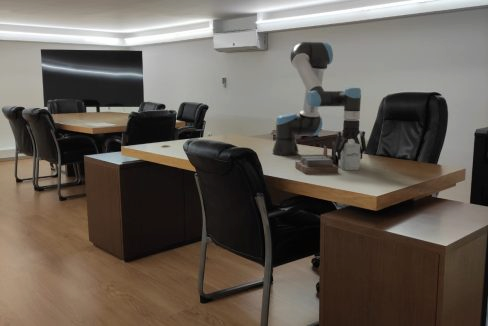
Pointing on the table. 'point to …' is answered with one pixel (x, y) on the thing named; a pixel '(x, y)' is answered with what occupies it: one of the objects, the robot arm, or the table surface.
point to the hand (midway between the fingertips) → (349, 165)
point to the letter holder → (334, 156)
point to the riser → (316, 165)
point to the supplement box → (351, 156)
